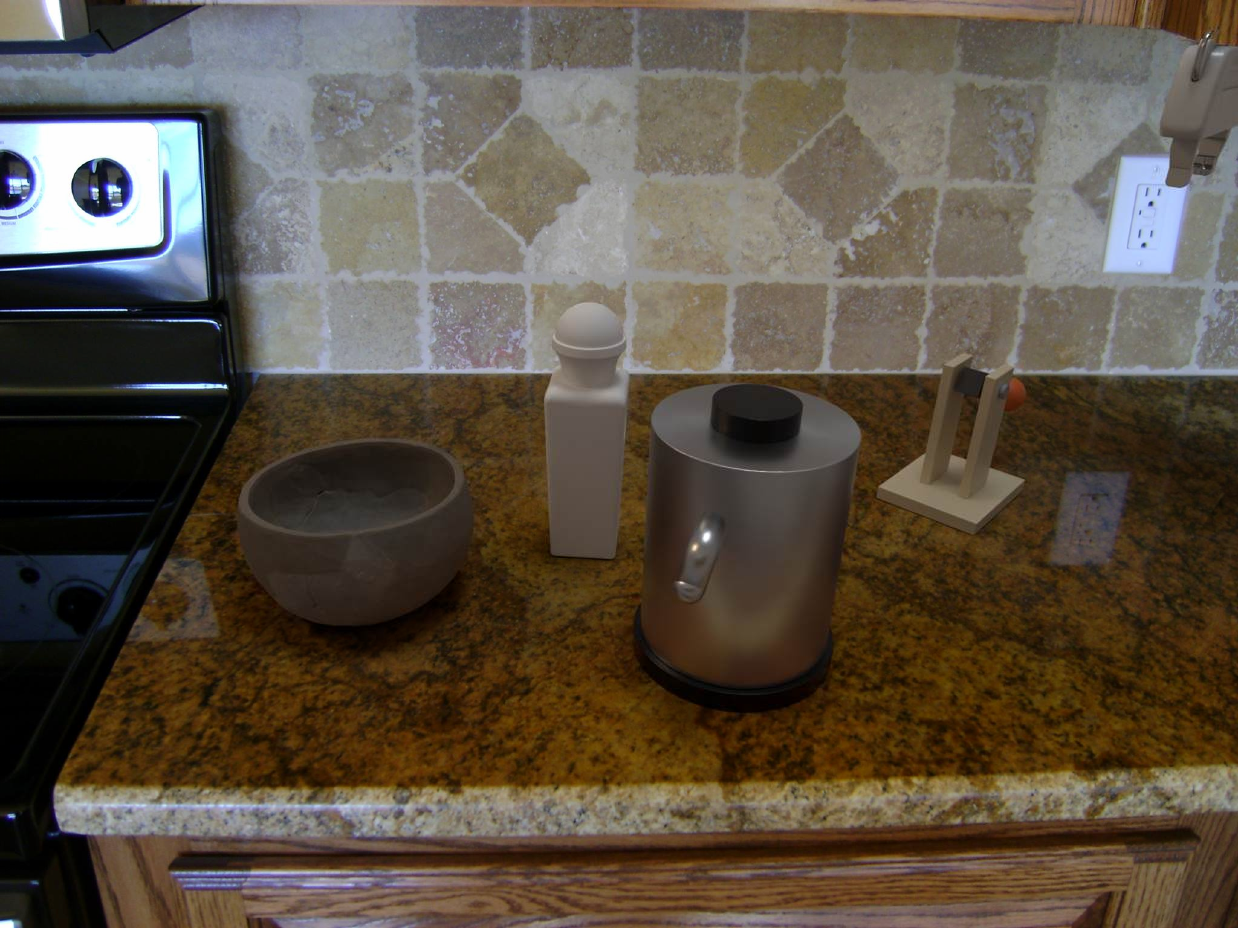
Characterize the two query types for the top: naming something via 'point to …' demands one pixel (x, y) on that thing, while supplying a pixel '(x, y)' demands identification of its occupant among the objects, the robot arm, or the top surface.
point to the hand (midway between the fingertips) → (1189, 180)
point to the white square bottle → (586, 432)
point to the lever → (974, 383)
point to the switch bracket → (958, 459)
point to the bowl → (356, 528)
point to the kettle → (743, 543)
